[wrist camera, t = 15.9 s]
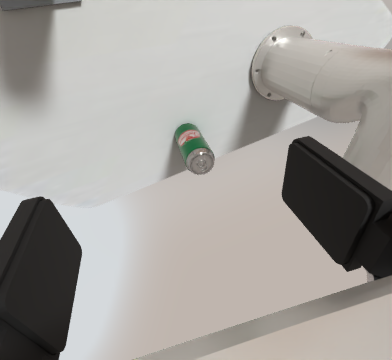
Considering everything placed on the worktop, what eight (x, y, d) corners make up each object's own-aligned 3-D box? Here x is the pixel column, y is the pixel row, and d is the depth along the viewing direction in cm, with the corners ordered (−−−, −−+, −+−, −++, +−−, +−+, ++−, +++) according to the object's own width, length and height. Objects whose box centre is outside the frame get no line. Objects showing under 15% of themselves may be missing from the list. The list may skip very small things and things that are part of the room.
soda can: (192, 117, 46) (210, 145, 37) (202, 138, 49) (220, 168, 40) (170, 129, 46) (181, 159, 37) (180, 149, 49) (194, 181, 40)
